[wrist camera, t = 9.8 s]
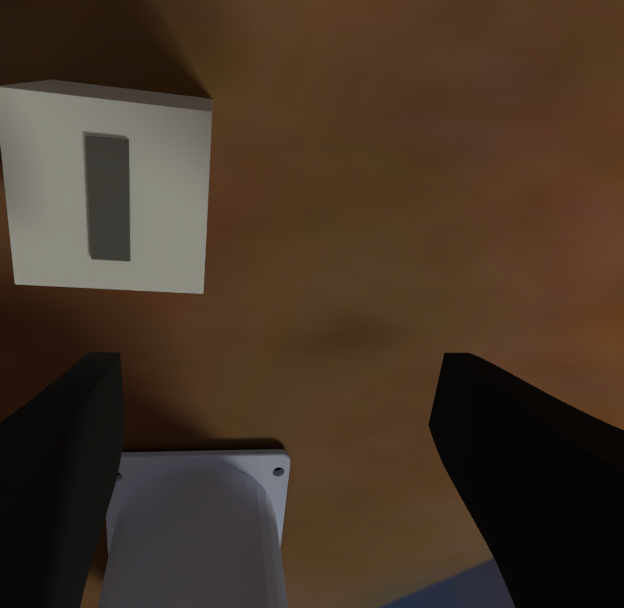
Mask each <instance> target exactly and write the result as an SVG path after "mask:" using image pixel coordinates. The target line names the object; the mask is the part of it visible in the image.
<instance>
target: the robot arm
mask: <svg viewBox="0 0 624 608" xmlns="http://www.w3.org/2000/svg"><path fill="white" fill-rule="evenodd" d="M429 428H430V431H431V434H432V437H433V440H434V442H435V445H436V448H437V450H438V453H439V455H440V458H441V460H442V463H443V465H444V467H445V469H446V471H447V472H448V474H449V476H450V478H451V480H452V482H453V483H454V485H455V487H456V489H457V491H458V493H459V494H460V496H461V498H462V500H463V502H464V503H465V505H466V507H467V509H468V511H469V512H470V514H471V516H472V518H473V520H474V521H475V523H476V525H477V527H478V529H479V530H480V532H481V534H482V536H483V538H484V539H485V541H486V543H487V545H488V547H489V549H490V551H491V553H492V555H493V557H494V559H495V561H496V563H497V565H498V567H499V569H500V572H501V574H502V576H503V579H504V581H505V584H506V586H507V588H508V591H509V593H510V595H511V598H512V600H513V602H514V605H515V607H516V608H624V430H622V429H619V428H617V427H614V426H612V425H610V424H608V423H605V422H603V421H601V420H599V419H597V418H594V417H592V416H590V415H588V414H586V413H584V412H582V411H580V410H578V409H576V408H574V407H572V406H570V405H568V404H566V403H564V402H562V401H560V400H558V399H557V398H555V397H553V396H551V395H549V394H547V393H545V392H543V391H542V390H540V389H538V388H536V387H534V386H532V385H531V384H529V383H527V382H525V381H523V380H521V379H520V378H518V377H516V376H514V375H512V374H511V373H509V372H507V371H505V370H503V369H501V368H500V367H498V366H496V365H494V364H492V363H490V362H488V361H486V360H484V359H482V358H480V357H478V356H475V355H473V354H470V353H444V357H443V362H442V366H441V371H440V376H439V380H438V385H437V389H436V394H435V398H434V403H433V407H432V412H431V416H430V421H429ZM124 435H125V428H124V411H123V394H122V378H121V361H120V353H88V354H87V355H85V356H84V357H83V358H82V359H80V360H79V361H78V362H77V363H76V364H74V365H73V366H72V367H71V368H70V369H69V370H67V371H66V372H65V373H64V374H63V375H61V376H60V377H59V378H58V379H57V380H55V381H54V382H53V383H52V384H51V385H49V386H48V387H47V388H46V389H44V390H43V391H42V392H41V393H39V394H38V395H37V396H36V397H34V398H33V399H32V400H31V401H29V402H28V403H27V404H25V405H24V406H22V407H21V408H20V409H18V410H17V411H16V412H14V413H13V414H11V415H10V416H9V417H7V418H6V419H4V420H3V421H2V422H0V608H80V605H81V600H82V596H83V592H84V588H85V584H86V580H87V576H88V573H89V569H90V566H91V563H92V559H93V556H94V553H95V550H96V546H97V543H98V540H99V537H100V533H101V530H102V527H103V523H104V520H105V517H106V528H107V544H108V561H107V566H106V570H105V575H104V580H103V584H102V589H101V593H100V598H99V603H98V607H97V608H288V603H287V596H286V588H285V581H284V574H283V566H282V559H281V551H280V547H281V538H282V530H283V521H284V512H285V504H286V495H287V487H288V478H289V469H290V457H289V454H288V452H287V451H285V450H282V449H264V450H216V451H167V452H122V448H123V442H124ZM278 467H280V468H282V469H281V470H278V471H276V470H274V469H275V468H278ZM118 472H119V473H120V475H118Z"/></svg>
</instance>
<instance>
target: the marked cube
mask: <svg viewBox="0 0 624 608" xmlns="http://www.w3.org/2000/svg"><path fill="white" fill-rule="evenodd" d="M212 104H213V99H209V98H201V97H193V96H184V95H176V94H168V93H160V92H151V91H143V90H135V89H127V88H118V87H110V86H102V85H94V84H85V83H77V82H69V81H61V80H44V81H35V82H27V83H18V84H10V85H1V86H0V147H1V156H2V166H3V175H4V185H5V194H6V204H7V213H8V223H9V232H10V242H11V251H12V261H13V270H14V280H15V284H18V285H38V286H58V287H78V288H99V289H119V290H139V291H159V292H179V293H199V294H203V289H204V271H205V252H206V232H207V211H208V190H209V168H210V147H211V126H212Z"/></svg>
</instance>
